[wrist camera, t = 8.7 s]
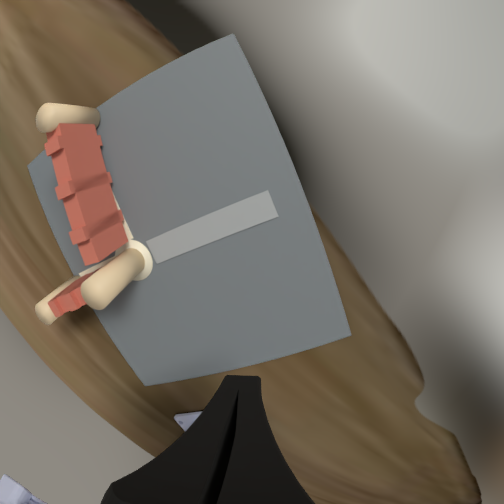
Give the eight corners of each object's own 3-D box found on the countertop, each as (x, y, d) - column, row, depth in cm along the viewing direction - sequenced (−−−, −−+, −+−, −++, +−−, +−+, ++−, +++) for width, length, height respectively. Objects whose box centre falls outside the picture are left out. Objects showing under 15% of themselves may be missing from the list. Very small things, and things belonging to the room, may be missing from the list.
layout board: (350, 333, 22) (351, 335, 21) (146, 384, 26) (144, 386, 25) (233, 35, 15) (233, 32, 15) (29, 165, 19) (26, 165, 19)
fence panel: (134, 238, 20) (98, 263, 15) (115, 243, 20) (77, 269, 16) (97, 103, 17) (53, 97, 12) (79, 114, 17) (34, 111, 13)
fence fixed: (139, 242, 21) (96, 275, 15) (151, 266, 21) (113, 305, 16) (69, 276, 22) (27, 308, 17) (80, 296, 23) (40, 331, 17)
